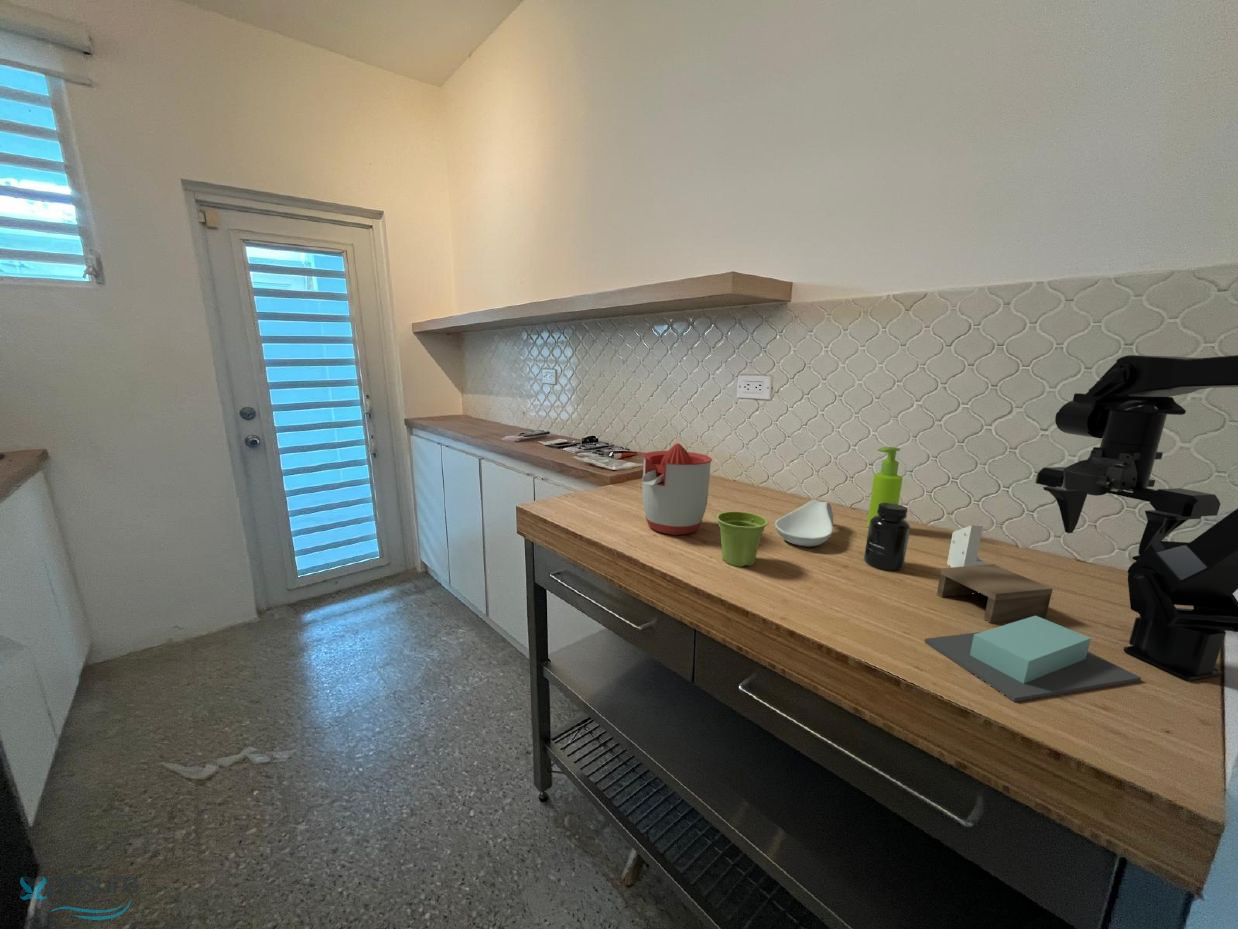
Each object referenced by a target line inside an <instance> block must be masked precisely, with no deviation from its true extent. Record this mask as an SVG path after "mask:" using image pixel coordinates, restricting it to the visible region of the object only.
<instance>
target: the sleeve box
mask: <svg viewBox="0 0 1238 929" xmlns="http://www.w3.org/2000/svg"><path fill="white" fill-rule="evenodd" d="M978 592H979V593H981V594H982V595H983V596H985V597H987V602H986V607H985V612H984V616H983V620H984V619H985V620H987V621H988V622H987V621H986V622H987V623H989V622H990V623H989V624H996V623H995V622H997V623H1003V622H1004V623H1006V622H1011V621H1012V622H1013V621H1014V622H1016V621H1019V620H1022V619H1026V618H1029V617H1032V616H1038V617H1040V618H1046V617H1047V614H1048V609H1049V605H1050V601H1051V597H1052V595H1053V594H1052V593H1053V587H1050V586H1047V585H1045V584H1043V583H1041V582H1037V581H1035V580H1033V579H1031V578H1028V577H1025V576H1024V575H1021V574H1018V573H1017V572H1013V571H1011V570H1008V569H1007V568H1004V567H1001V566H1000V565H996V564H994V563H992V564H991V563H990V564H987V565H976V566H964V567H941V570H940V574H939V580H938V585H937V592H936V595H937V594H938V595H939V597H940V596H942V597H941V598H945V597H944V596H951V597H960V596H959V595H961V596H965V595H964V594H971V595H973V594H972V593H978ZM981 594H980V595H981ZM938 595H937V596H938ZM957 595H958V596H957ZM985 620H984V621H985ZM1005 621H1006V622H1005Z"/></svg>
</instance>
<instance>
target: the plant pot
mask: <svg viewBox="0 0 1238 929" xmlns="http://www.w3.org/2000/svg"><path fill="white" fill-rule="evenodd" d="M716 520H717V522H718V527H719V528H720V530H719V531H720V539H721V540H720V541H721V542H720V543H721V544H720V545H721V557H722V560H724V561H725V563H727V564H728V565H731V566H733V567H734V566H735V567H739V568H741V567H745V566H748V567H750V566H753V565H754V564H755V562H756V557H757V554H758V550H759V545H760V542H761V539H762V538H761V537H762V534H763V532H764V530H765V528H766V526H767V525H768V519H767V518H765V517H763V516H762V515H759V514H757V513H753V512H749V511H748V512H747V511H735V510H734V511H733V510H731V511H729V510H728V511H725V512H720V513H718V514H717V515H716Z"/></svg>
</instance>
